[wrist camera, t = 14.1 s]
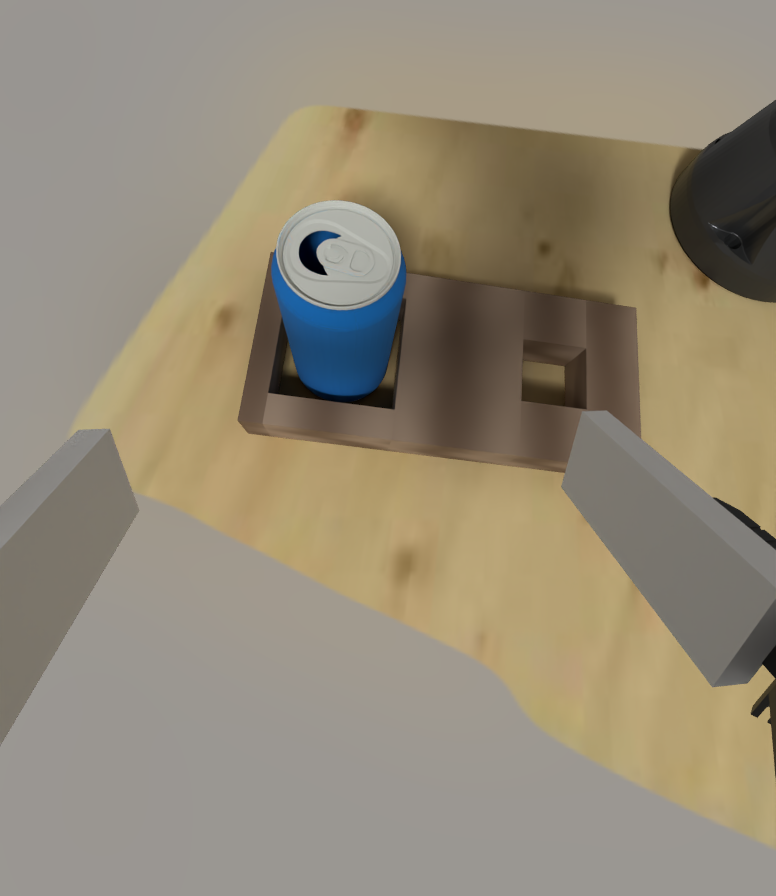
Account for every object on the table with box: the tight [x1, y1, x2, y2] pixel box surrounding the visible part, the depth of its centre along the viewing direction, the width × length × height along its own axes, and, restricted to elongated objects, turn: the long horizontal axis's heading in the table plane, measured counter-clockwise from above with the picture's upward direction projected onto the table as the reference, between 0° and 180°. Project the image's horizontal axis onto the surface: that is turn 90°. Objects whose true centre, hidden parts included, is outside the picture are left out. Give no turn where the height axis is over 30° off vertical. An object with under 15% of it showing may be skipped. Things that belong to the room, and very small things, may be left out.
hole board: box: [238, 252, 641, 473], centre depth 30 cm, size 26×12×3 cm, turn 84°
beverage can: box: [271, 200, 407, 402], centre depth 25 cm, size 6×6×12 cm
